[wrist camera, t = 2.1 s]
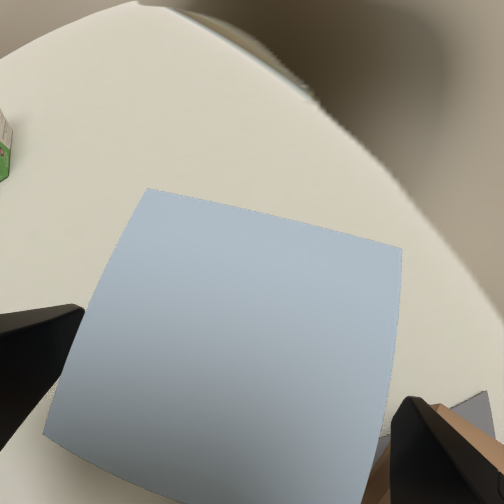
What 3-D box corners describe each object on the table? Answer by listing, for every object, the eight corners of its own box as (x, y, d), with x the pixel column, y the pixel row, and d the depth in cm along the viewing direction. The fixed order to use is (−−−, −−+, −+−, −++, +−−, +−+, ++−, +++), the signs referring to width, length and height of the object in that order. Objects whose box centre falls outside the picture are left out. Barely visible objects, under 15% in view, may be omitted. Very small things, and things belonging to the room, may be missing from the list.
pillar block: (280, 458, 13) (349, 533, 3) (172, 427, 14) (42, 434, 4) (308, 355, 16) (402, 248, 6) (204, 328, 16) (147, 188, 7)
